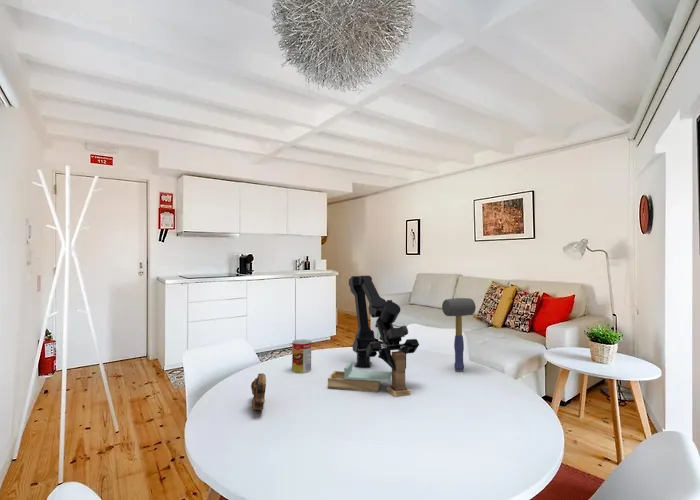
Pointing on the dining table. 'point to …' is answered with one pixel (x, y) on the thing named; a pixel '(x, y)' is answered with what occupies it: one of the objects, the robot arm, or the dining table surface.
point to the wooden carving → (259, 391)
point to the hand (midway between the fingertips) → (400, 369)
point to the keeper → (398, 392)
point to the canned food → (301, 356)
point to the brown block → (398, 371)
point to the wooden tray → (351, 383)
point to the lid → (366, 374)
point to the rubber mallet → (458, 324)
